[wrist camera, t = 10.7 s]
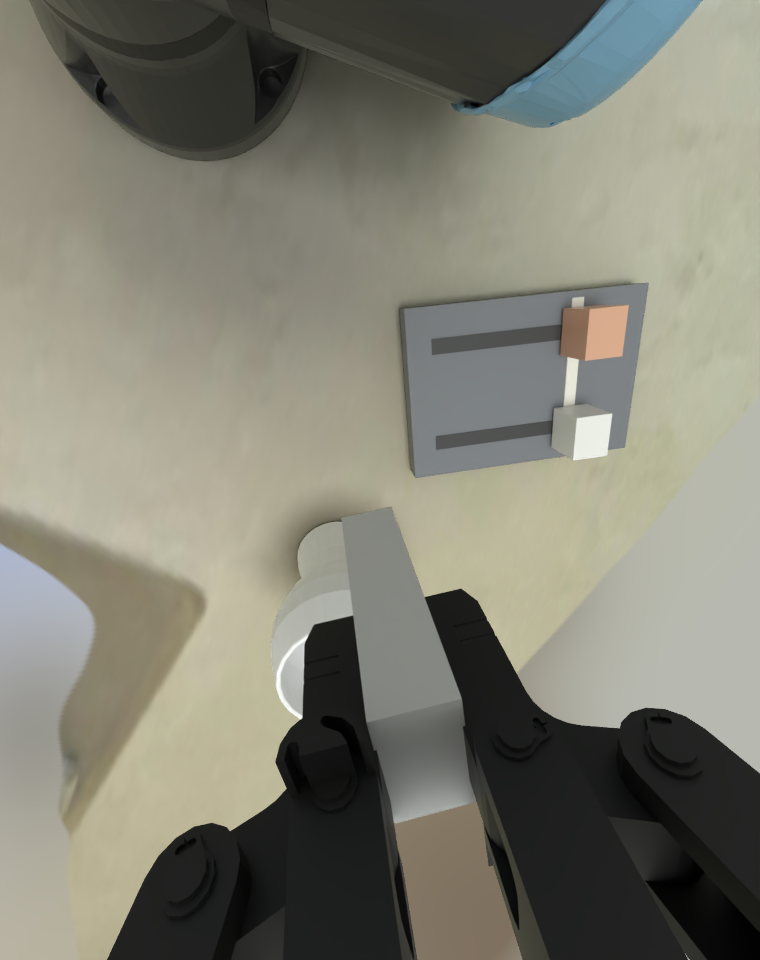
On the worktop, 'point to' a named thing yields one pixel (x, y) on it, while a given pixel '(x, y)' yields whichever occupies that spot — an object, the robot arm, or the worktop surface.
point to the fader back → (581, 431)
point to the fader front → (593, 331)
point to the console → (507, 377)
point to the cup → (309, 608)
